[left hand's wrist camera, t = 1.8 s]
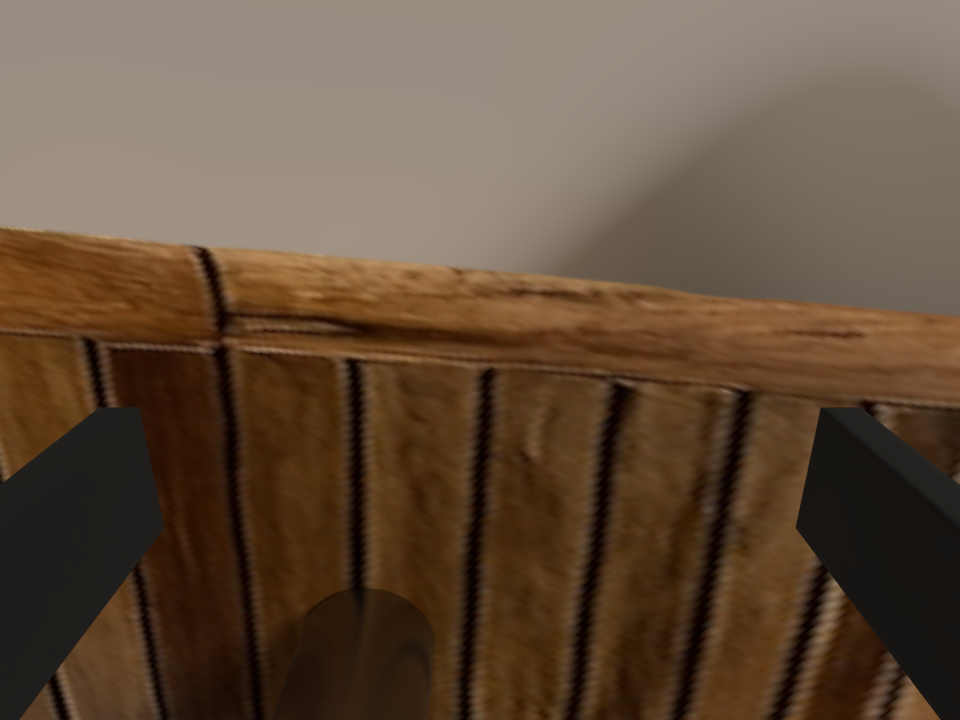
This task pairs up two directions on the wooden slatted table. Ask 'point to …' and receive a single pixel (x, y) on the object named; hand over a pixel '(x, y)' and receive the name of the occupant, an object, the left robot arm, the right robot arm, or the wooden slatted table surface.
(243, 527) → the wooden slatted table surface
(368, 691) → the jar
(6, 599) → the left robot arm
